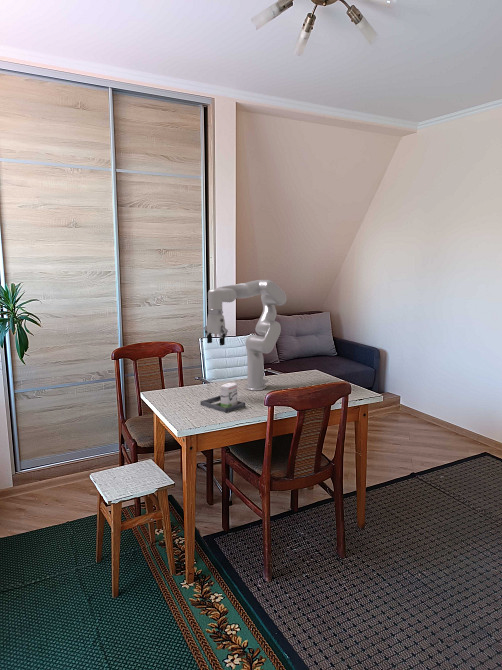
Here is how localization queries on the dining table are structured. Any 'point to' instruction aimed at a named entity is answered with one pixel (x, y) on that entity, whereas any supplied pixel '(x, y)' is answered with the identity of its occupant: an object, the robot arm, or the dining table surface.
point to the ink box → (228, 395)
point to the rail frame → (218, 406)
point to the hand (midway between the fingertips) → (215, 344)
